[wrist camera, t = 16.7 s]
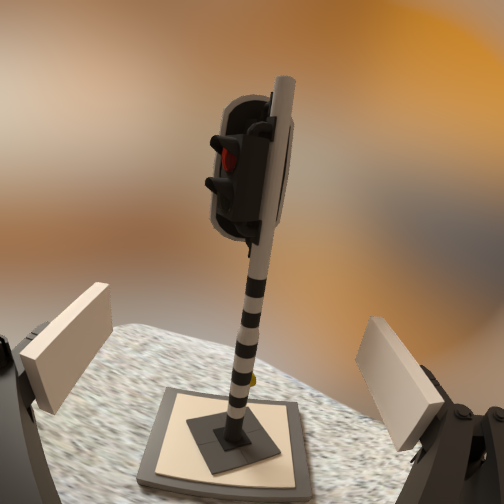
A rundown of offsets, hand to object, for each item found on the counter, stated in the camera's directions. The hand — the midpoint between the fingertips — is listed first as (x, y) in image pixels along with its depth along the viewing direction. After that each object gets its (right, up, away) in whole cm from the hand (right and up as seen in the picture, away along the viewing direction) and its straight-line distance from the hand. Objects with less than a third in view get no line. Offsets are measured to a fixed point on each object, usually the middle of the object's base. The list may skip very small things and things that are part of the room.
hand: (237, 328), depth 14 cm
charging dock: (-2, -16, +11) cm, 19 cm away
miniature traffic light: (-2, -14, +11) cm, 18 cm away
